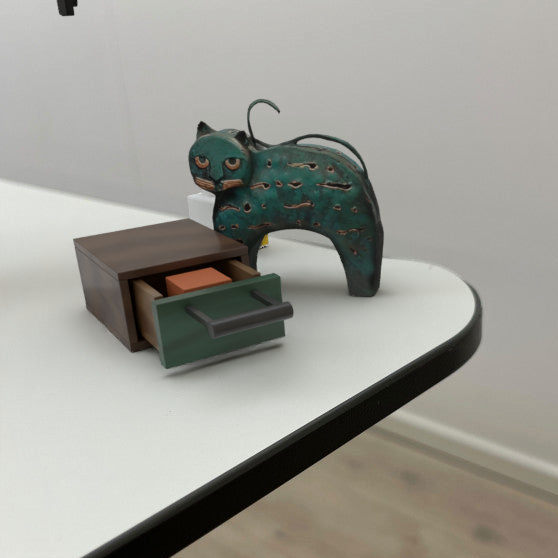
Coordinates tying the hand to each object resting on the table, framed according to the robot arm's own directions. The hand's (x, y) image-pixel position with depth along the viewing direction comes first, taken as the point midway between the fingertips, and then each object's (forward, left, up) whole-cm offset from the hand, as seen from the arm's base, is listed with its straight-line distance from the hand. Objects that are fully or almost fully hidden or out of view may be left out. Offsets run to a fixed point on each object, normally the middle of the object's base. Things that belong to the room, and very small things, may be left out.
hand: (15, 17), depth 73 cm
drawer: (+6, -23, -27) cm, 36 cm away
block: (+7, -22, -26) cm, 35 cm away
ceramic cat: (+21, -13, -28) cm, 38 cm away
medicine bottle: (+22, +6, -28) cm, 36 cm away
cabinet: (+7, -12, -28) cm, 31 cm away
